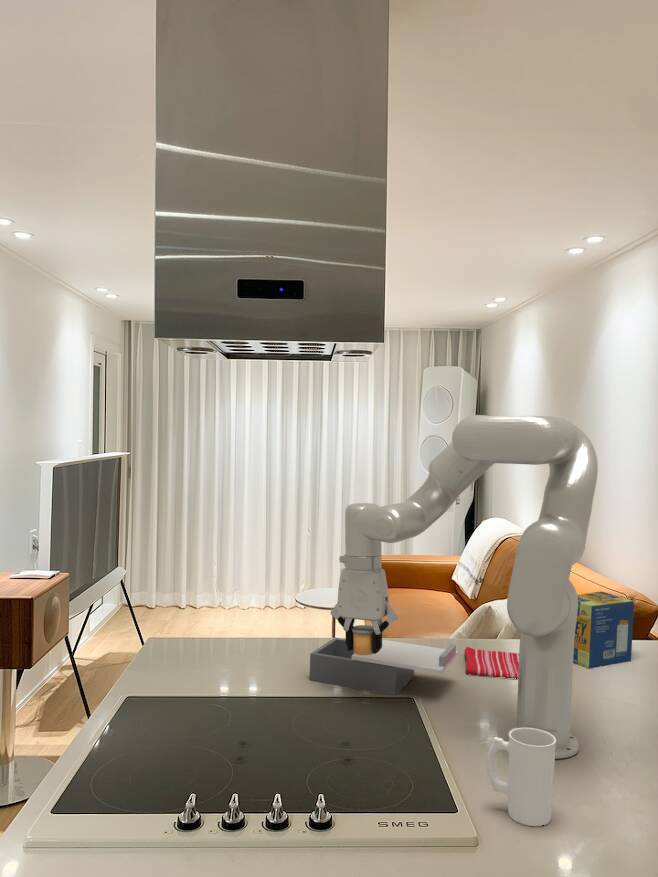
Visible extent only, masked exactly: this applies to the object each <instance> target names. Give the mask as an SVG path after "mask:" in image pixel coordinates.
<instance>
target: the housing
mask: <svg viewBox="0 0 658 877" xmlns="http://www.w3.org/2000/svg"><path fill="white" fill-rule="evenodd" d="M353 654H354V653H353V649H352V650H351V651H348V650H347V645H346V638H345V639H344V638H339V637H333V638H332V639H330V640H329V641H327V642H326V643H324V644H323V645H321V646H320V647H318V648H317V649H315V650H314V651H312V652H310V654H309V656H310V657H309V658H310V659H309V681H312V682H317V683H322V684H329V685H334V686H335V685H336V686H340V687H345V688H352V689H356V690H362V691H369V692H374V693H379V694H384V695H388V696H389V695H390V696H391V695H392V696H396V695H397V694H398V693H399V692H400V691H401V690H402V689H403V688H404V686H406V685H407V684H408V683H409V681H410V680H412V678H413V677H414V676H415V670H412V669H406V668H400V667H394V666H388V665H382V664H376V663H370V662H363V661H357V660H351V657H352V655H353Z"/></svg>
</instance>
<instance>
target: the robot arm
mask: <svg viewBox="0 0 658 877" xmlns="http://www.w3.org/2000/svg"><path fill="white" fill-rule="evenodd" d="M596 453H597V452H596V450H595V448H594V446H593V443H592V441H591V440H590V438H589V436H587V434H586V433H584V431H583V430H582V429H580V428H579V427H578V426H577V425H576V424H574V423H573V422H570V421H569V420H567V419H564V418H562V417H558V416H554V415H553V416H550V415H486V414H485V415H484V414H473V415H469V416H467V417H464V418H463V419H462V420H460V421H459V422H458V423H457V424H456V426H455V427H454V429H453V432H452V437H451V442H450V443H449V444H448V445H447V446H446V447H445V448H444V449H443V450H441V452H440V453H439V454H437V455H436V456H435V457H434V458H433V459H432V460H430V463H429V464H428V476H427V478H426V480H425V481H424V483H422V484H421V486H420V487H419V488H418V489H417V490H416V491H415V492H414V493H413V494H411V495H410V496H409V497H408V498H407V499H406V500H405V501H402V502H398V503H393V504H389V505H382V506H381V505H378V504H375V503H369V502H356V503H351V504H348V505H347V506H346V508H345V510H344V511H345V512H344V513H345V514H344V515H345V516H344V518H345V519H344V520H345V521H344V523H345V524H344V530H345V532H344V536H345V538H344V540H345V544H344V545H345V547H344V549H345V550H344V551H345V552H344V554H343V555H340V556H339V560H338V561H339V563H343V564H344V568H342V569H341V571H340V577H339V582H338V591H337V600H336V601H337V603H336V604H335V605H334V607H333V608H332V609H331V611H330V615H331V616H332V617H334V619H336V620H337V622H338V623H339V625H341V627H342V628H343V631H344V632H345V639H346V645H347V650H348V651H351V650H352V649H353V632H352V627H354V626H355V621H356V620H360V621H371V623H372V624H371V625H372V626H373V628H374V634H373V635H372V653H373V654H376V653H377V652H379V651H380V649H381V648H382V640H383V632H384V631H385V630H386V629H387V628H388V627H389V626H391V625H392V624H393V623H394V622H396V621H397V620H398V619H399V617H398V615H397V613H396V612H395V611H394V609H393V608H392V606H391V605H390V601H389V589H388V588H389V587H388V582H387V576H386V571H385V569H383V568H382V565H383V564H382V559H383V558H382V555H383V554H382V552H383V551H382V543H386V544H388V543H389V544H393V543H394V544H395V543H399V542H402V541H405V540H409V539H412V538H416V537H418V536H419V535H421V534H422V533H423V532H425V531H426V530H428V529H429V527H430V526H432V525H433V524H434V523H436V521H437V520H439V519H440V518H441V517H442V516H443V515H444V514H445V513H446V512H447V511H448V510H449V509H450V508H451V506H452V505H453V504H454V503H455V501H457V500H458V498H459V497H460V495H461V494H463V493H464V492H465V491H466V489H468V488H469V487H470V486H471V485H472V484H473V483H475V482H476V481H477V480H478V479H479V478H480V477H481V476H482V475H483V474H484V473H486V472H487V471H488V470H489V469H490V468H491V467H492V466H494V465H495V464H504V465H505V464H506V465H507V464H512V465H533V466H534V465H540V466H541V465H547V464H548V466H549V473H548V474H549V475H548V478H547V481H546V484H545V486H544V488H545V489H544V493H543V498H542V503H541V507H540V508H541V509H540V513H539V517H538V520H536V521H535V522H532V523H531V524H529V525H528V526H527V527H526V529H525V530H524V531H523V533H522V534H521V536H520V538H519V540H518V544H517V547H516V552H515V557H514V562H513V567H512V571H511V577H510V583H509V587H508V592H507V597H506V598H507V601H506V610H507V615H508V618H509V619H510V622H511V623H512V624H513V626H514V628H516V630H518V631H519V632H520V638H519V648H518V649H519V650H518V654H519V670H518V680H517V701H516V705H517V706H516V726H514V727H511V728H510V729H509V730H508V732H507V737H506V739H507V740H506V741H507V742H508V741H509V732H510V731H511V730H513V729H516V728H535V729H540V730H543V731H546V732H548V733H550V734H552V735H553V736H554V737H555V738H556V744H555V760H556V759H557V760H558V759H559V760H560V759H566V758H567V759H568V758H570V757H573V756H574V755H576V754H577V753H578V752H579V750H580V744H579V741H578V739H577V738H576V737H575V736H574V735H572V733H571V723H572V701H573V700H572V696H573V695H572V694H573V670H574V669H573V668H574V663H573V655H574V638H575V629H576V621H577V613H578V597H577V590H576V588H575V586H574V584H573V583H572V582H571V580H570V576H571V571H572V568H573V566H574V565H575V564H576V563H578V562H579V561H580V560H581V558H582V557H583V555H584V552H585V549H586V542H587V536H588V531H589V525H590V520H591V516H592V510H593V509H592V508H593V504H594V497H595V493H596V487H597V480H598V479H597V478H598V472H599V470H598V469H599V467H598V458H597V454H596ZM384 617H387V619H385V620H384V621H383V618H384Z"/></svg>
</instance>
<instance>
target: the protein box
mask: <svg viewBox="0 0 658 877" xmlns="http://www.w3.org/2000/svg"><path fill="white" fill-rule="evenodd" d="M577 597H578V613H577V621H576V629H575V638H574V655H573V662H574V663H573V664H576V665H579V666H581V667H583V666H584V667H583V668H585V667H586V669H588V668H589V669H592V668H593V669H594V667H595V668H599V667H600V666H601V667H605V666H612V665H617V664H624V663H629V662H631V661H632V650H633V630H634V629H633V627H634V608H635V606H634V605H635V602H634V601H635V600H631V599H628V598H625V597H622V596H618V595H615V594H611V593H608V592H604V591H596V592H590V593H589V592H587V593H580V594H579V593H578V594H577Z"/></svg>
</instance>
